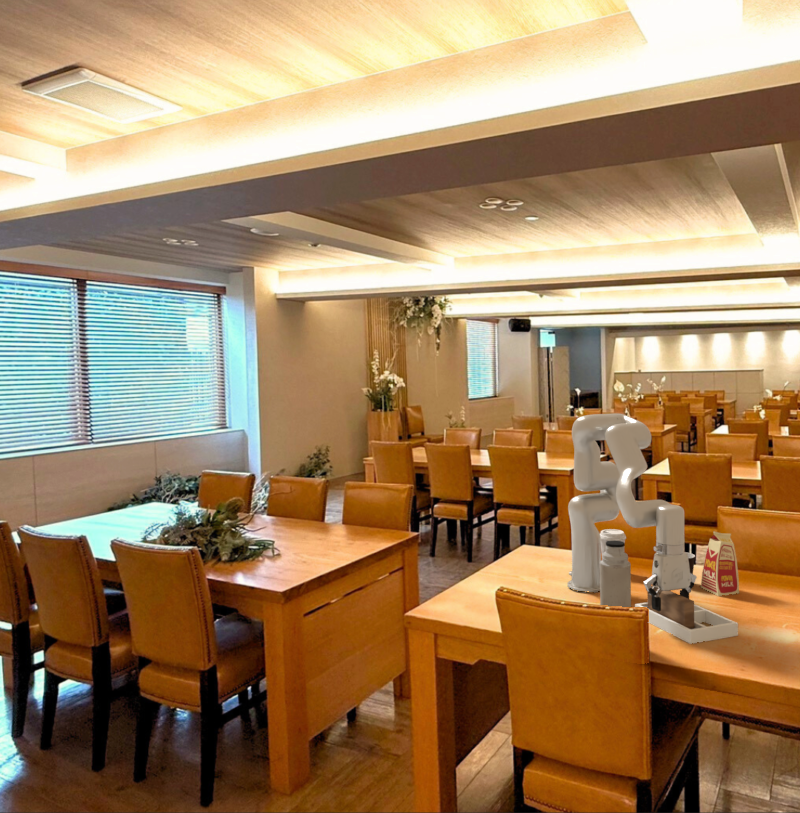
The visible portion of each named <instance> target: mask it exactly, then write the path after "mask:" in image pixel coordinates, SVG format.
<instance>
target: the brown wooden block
mask: <svg viewBox="0 0 800 813" xmlns="http://www.w3.org/2000/svg"><path fill="white" fill-rule="evenodd" d="M651 587H652V588H653V585H651ZM657 590H658V589H657ZM657 590H656V591H657ZM646 594H647V602H648V609H650V610H652V611H654V612H656V613H658V614H660V615H662V616H664V617H666V618H668V619H670V620H672V621H674V622H676V623H679V624H681V625H683V626H685V627H687V628H689V629H693V628H694V604H695V601H694V600H693V599H690V598H689V599H688V598H686V597H683V596H681V595H680V593H676V592H673V590H671V591H662V592H661V594H660V596H659V597H660V598H661V611H656V610H654V609H652V595H650V594H649V592H648V591H647V590H646Z"/></svg>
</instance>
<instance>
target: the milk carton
mask: <svg viewBox="0 0 800 813" xmlns="http://www.w3.org/2000/svg"><path fill="white" fill-rule="evenodd" d="M731 537H732V533H721V532H718V531H715V530H714V531H713V535H712V536H710V538H709V542H708V544H707V549H706V552H705V558H704V561H703V567H702V573H701V582H700V588H701V589H702V588H703V590H704V589H705V590H704V591H706V590H707V592H708V591H709V592H708V593H710V592H711V593H710V594H712V593H713V594H712V595H714V594H715V596H717V597H723V596H722V595H725V596H730V595H729V594H732V595H736V593H737V594H740V582H739V580H740V579H739V571H738V570H739V568H738V561H737V555H736V549H735V548H736V547H735V544H734V542H733V540H732V538H731Z"/></svg>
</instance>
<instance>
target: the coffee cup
mask: <svg viewBox="0 0 800 813" xmlns="http://www.w3.org/2000/svg"><path fill="white" fill-rule="evenodd" d="M599 533H600V537H601V557H602V556H603V553H604V552H606V542H607V541H613V540H614V541H622V542H624V543H625V544H626V539H627V536H626V534H625V532H624V531H623V530H621V529H615V528H613V529H612V528H609V529H608V528H607V529H602V530H600V532H599ZM601 560H603V559H602V558H601Z"/></svg>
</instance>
